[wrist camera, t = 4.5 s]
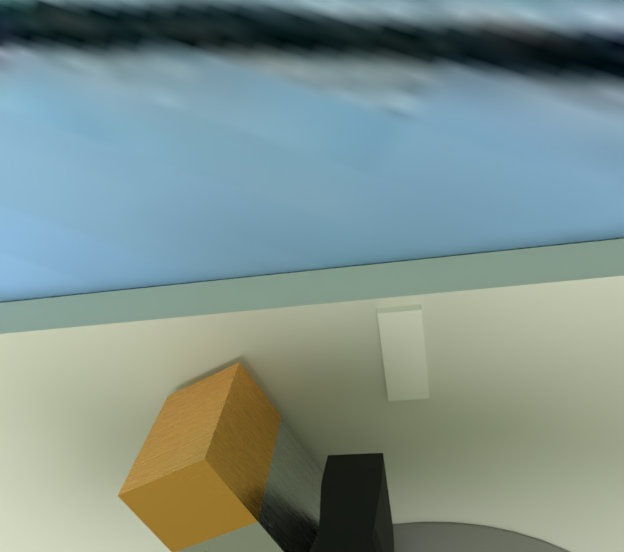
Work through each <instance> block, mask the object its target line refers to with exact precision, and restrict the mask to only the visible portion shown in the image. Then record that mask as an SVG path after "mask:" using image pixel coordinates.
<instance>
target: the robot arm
mask: <svg viewBox="0 0 624 552" xmlns="http://www.w3.org/2000/svg"><path fill="white" fill-rule="evenodd" d="M309 552H394V534H393V524H392V516H391V508H390V501H389V493H388V486H387V478H386V471H385V463H384V456H383V453H367V454H344V455H328V457H327V461H326V465H325V469H324V473H323V478H322V483H321V495H320V518H319V532H318V534H317V537H316V539H315V541H314V543H313V545H312V547H311V549H310V551H309Z"/></svg>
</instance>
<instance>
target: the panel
mask: <svg viewBox="0 0 624 552" xmlns="http://www.w3.org/2000/svg"><path fill="white" fill-rule="evenodd" d="M239 362H240V363H241V365H242V366H243V367H244V369H245V370H246V371H247V372H248V374H249V375H250V376H251V378H252V379H253V380H254V382H255V383H256V384H257V386H258V387H259V388H260V390H261V391H262V392H263V393H264V395H265V396H266V397H267V399H268V400H269V401H270V403H271V404H272V405H273V407H274V408H275V409H276V410H277V412H278V413H279V414H280V416H281V417H282V418H283V420H284V421H285V422H286V424H287V425H288V426H289V428H290V429H291V430H292V431H293V433H294V434H295V435H296V437H297V438H298V439H299V441H300V442H301V443H302V445H303V446H304V447H305V448H306V450H307V451H308V452H309V454H310V455H311V456H312V458H313V459H314V460H315V462H316V463H317V464H318V466H319V467H320V468H321V469H322V471H323V472H324V469H325V465H326V461H327V457H328V455H344V454H367V453H383V456H384V463H385V471H386V478H387V486H388V493H389V501H390V508H391V516H392V524H393V534H394V552H624V238H623V239H614V240H604V241H594V242H585V243H575V244H565V245H556V246H546V247H536V248H526V249H517V250H507V251H497V252H488V253H478V254H468V255H458V256H449V257H439V258H429V259H420V260H410V261H400V262H391V263H381V264H371V265H361V266H352V267H342V268H332V269H323V270H313V271H303V272H293V273H284V274H274V275H264V276H255V277H245V278H235V279H225V280H216V281H206V282H196V283H187V284H177V285H167V286H158V287H148V288H138V289H128V290H119V291H109V292H99V293H90V294H80V295H70V296H60V297H51V298H41V299H31V300H22V301H12V302H2V303H0V552H171V551H170V550H169V549H168V548H167V547H166V546H165V545H164V544H163V543H162V542H161V541H160V540H159V538H158V537H157V536H156V535H155V534H154V533H153V532H152V531H151V530H150V529H149V528H148V527H147V526H146V525H145V524H144V523H143V522H142V521H141V520H140V519H139V518H138V517H137V516H136V514H135V513H134V512H133V511H132V510H131V509H130V508H129V507H128V506H127V505H126V504H125V503H124V502H123V501H122V500H121V499H120V498H119V497H118V494H119V492H120V490H121V488H122V486H123V484H124V482H125V480H126V478H127V476H128V474H129V472H130V470H131V468H132V466H133V464H134V462H135V460H136V458H137V456H138V454H139V452H140V450H141V448H142V446H143V444H144V442H145V440H146V438H147V436H148V434H149V432H150V430H151V428H152V426H153V424H154V422H155V420H156V418H157V416H158V415H159V413H160V411H161V409H162V407H163V405H164V403H165V401H166V399H167V397H168V396H169V395H171V394H173V393H175V392H177V391H180V390H182V389H184V388H186V387H188V386H190V385H192V384H194V383H196V382H199V381H201V380H203V379H205V378H207V377H209V376H211V375H213V374H215V373H217V372H220V371H222V370H224V369H226V368H228V367H230V366H232V365H234V364H236V363H239Z"/></svg>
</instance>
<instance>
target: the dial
mask: <svg viewBox="0 0 624 552" xmlns="http://www.w3.org/2000/svg"><path fill="white" fill-rule="evenodd" d="M323 473H324V472H323V471H322V469H321V468H320V467H319V466H318V464H317V463H316V462H315V460H314V459H313V458H312V456H311V455H310V454H309V452H308V451H307V450H306V448H305V447H304V446H303V445H302V443H301V442H300V441H299V439H298V438H297V437H296V435H295V434H294V433H293V431H292V430H291V429H290V428H289V426H288V425H287V424H286V422H285V421H284V420H283V418H282V417H281V416H280V414H279V413H278V412H277V410H276V409H275V408H274V407H273V405H272V404H271V403H270V401H269V400H268V399H267V397H266V396H265V395H264V393H263V392H262V391H261V390H260V388H259V387H258V386H257V384H256V383H255V382H254V380H253V379H252V378H251V376H250V375H249V374H248V372H247V371H246V370H245V369H244V367H243V366H242V365H241V363H240V362H239V363H236V364H234V365H232V366H230V367H228V368H226V369H224V370H222V371H220V372H217V373H215V374H213V375H211V376H209V377H207V378H205V379H203V380H201V381H199V382H196V383H194V384H192V385H190V386H188V387H186V388H184V389H182V390H180V391H177V392H175V393H173V394H171V395H169V396H168V397H167V399H166V401H165V403H164V405H163V407H162V409H161V411H160V413H159V415H158V416H157V418H156V420H155V422H154V424H153V426H152V428H151V430H150V432H149V434H148V436H147V438H146V440H145V442H144V444H143V446H142V448H141V450H140V452H139V454H138V456H137V458H136V460H135V462H134V464H133V466H132V468H131V470H130V472H129V474H128V476H127V478H126V480H125V482H124V484H123V486H122V488H121V490H120V492H119V494H118V497H119V498H120V499H121V500H122V501H123V502H124V503H125V504H126V505H127V506H128V507H129V508H130V509H131V510H132V511H133V512H134V513H135V514H136V516H137V517H138V518H139V519H140V520H141V521H142V522H143V523H144V524H145V525H146V526H147V527H148V528H149V529H150V530H151V531H152V532H153V533H154V534H155V535H156V536H157V537H158V538H159V540H160V541H161V542H162V543H163V544H164V545H165V546H166V547H167V548H168V549H169V550H170V551H171V552H309V551H310V549H311V547H312V545H313V543H314V541H315V539H316V537H317V534H318V532H319V518H320V495H321V483H322V478H323Z"/></svg>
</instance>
